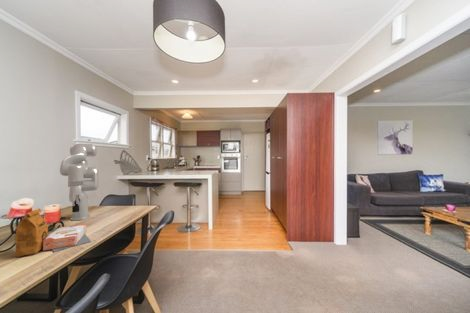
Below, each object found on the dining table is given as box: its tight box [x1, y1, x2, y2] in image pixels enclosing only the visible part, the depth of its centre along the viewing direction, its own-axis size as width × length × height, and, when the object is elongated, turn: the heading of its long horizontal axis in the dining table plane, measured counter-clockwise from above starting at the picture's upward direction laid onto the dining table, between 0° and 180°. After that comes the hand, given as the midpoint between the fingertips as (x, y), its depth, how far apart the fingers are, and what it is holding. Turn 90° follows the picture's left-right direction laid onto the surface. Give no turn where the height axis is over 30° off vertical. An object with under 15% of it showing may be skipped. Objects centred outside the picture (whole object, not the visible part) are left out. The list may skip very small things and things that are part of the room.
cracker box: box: [42, 223, 87, 251], centre depth 109 cm, size 14×6×21 cm
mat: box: [51, 233, 92, 253], centre depth 108 cm, size 18×16×1 cm
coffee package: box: [14, 208, 49, 258], centre depth 98 cm, size 10×12×22 cm
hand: (75, 211), depth 118 cm, fingers closed
